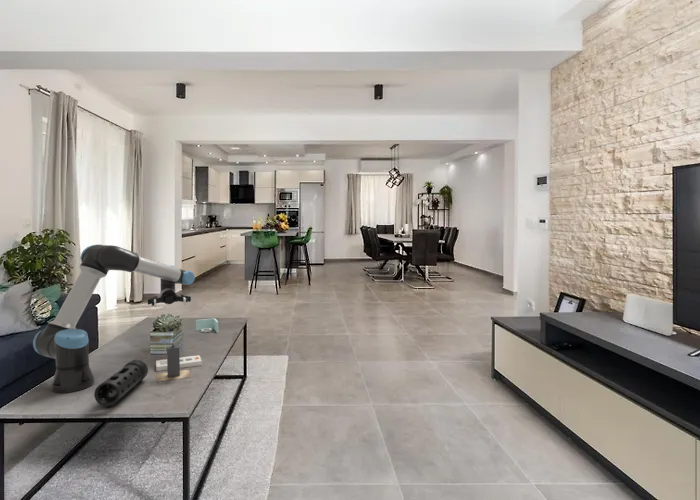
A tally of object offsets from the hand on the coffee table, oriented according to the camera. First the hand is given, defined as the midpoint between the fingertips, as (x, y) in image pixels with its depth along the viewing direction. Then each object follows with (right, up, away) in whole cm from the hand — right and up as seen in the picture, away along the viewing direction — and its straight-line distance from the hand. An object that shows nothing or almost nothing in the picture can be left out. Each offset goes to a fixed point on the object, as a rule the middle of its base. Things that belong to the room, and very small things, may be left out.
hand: (170, 303), depth 203 cm
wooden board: (+9, -31, -17) cm, 36 cm away
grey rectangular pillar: (+9, -31, -17) cm, 36 cm away
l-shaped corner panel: (-3, -27, +61) cm, 67 cm away
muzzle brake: (-3, -33, -36) cm, 49 cm away
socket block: (+5, -30, -3) cm, 31 cm away
